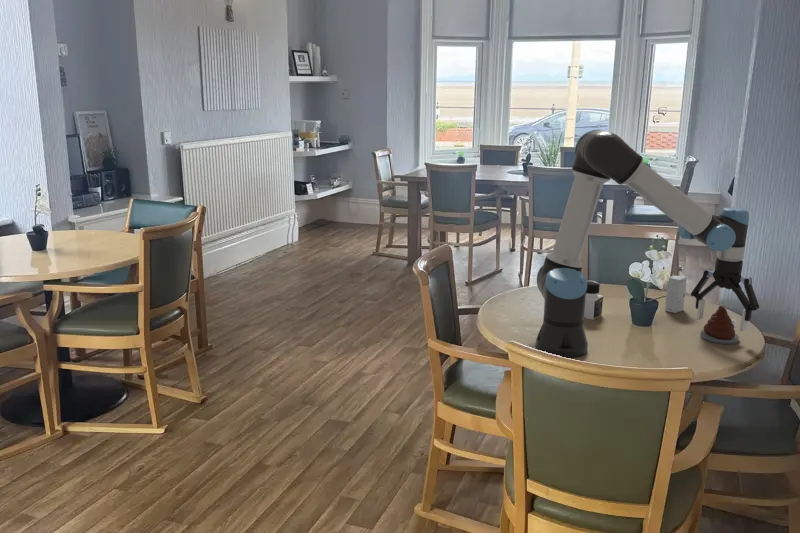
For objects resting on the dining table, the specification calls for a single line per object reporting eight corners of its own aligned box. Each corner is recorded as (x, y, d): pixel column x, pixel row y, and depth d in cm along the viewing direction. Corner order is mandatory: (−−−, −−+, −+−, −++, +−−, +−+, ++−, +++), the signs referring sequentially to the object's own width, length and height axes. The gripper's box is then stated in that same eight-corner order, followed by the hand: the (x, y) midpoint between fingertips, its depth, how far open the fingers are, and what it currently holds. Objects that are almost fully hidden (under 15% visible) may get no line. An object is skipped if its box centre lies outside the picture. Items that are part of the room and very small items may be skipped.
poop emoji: (697, 330, 222) (700, 302, 220) (720, 328, 224) (723, 301, 222) (718, 341, 213) (722, 312, 211) (742, 339, 215) (746, 310, 213)
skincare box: (676, 313, 243) (679, 280, 240) (663, 310, 246) (667, 277, 243) (683, 309, 247) (687, 276, 244) (671, 307, 250) (675, 274, 247)
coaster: (728, 347, 212) (729, 343, 212) (693, 337, 220) (694, 333, 220) (744, 338, 219) (744, 335, 219) (710, 329, 227) (710, 326, 227)
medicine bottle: (593, 320, 235) (596, 286, 232) (573, 316, 239) (576, 282, 236) (601, 315, 240) (604, 281, 237) (582, 311, 245) (584, 278, 242)
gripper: (777, 264, 206) (767, 332, 212) (695, 249, 224) (688, 312, 230) (767, 268, 202) (756, 337, 207) (684, 253, 220) (677, 317, 225)
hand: (720, 324), depth 218 cm, fingers open, 13 cm apart
